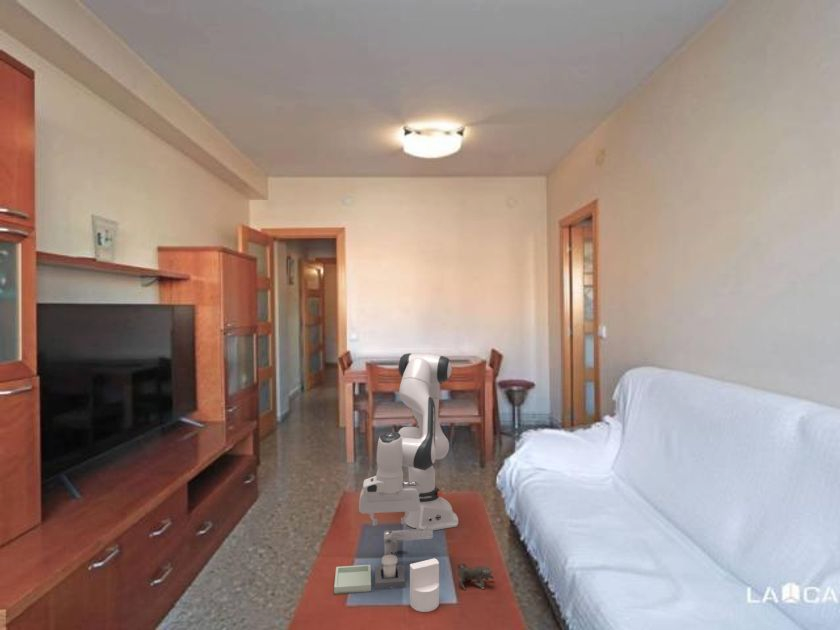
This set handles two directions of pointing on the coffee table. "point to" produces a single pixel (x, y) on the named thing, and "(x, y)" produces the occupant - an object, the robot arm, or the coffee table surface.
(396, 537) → the grey square bar
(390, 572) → the plug
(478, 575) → the dog figurine
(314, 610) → the coffee table surface
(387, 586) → the socket
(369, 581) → the tray
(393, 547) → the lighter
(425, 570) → the cylinder with rectangular tab
